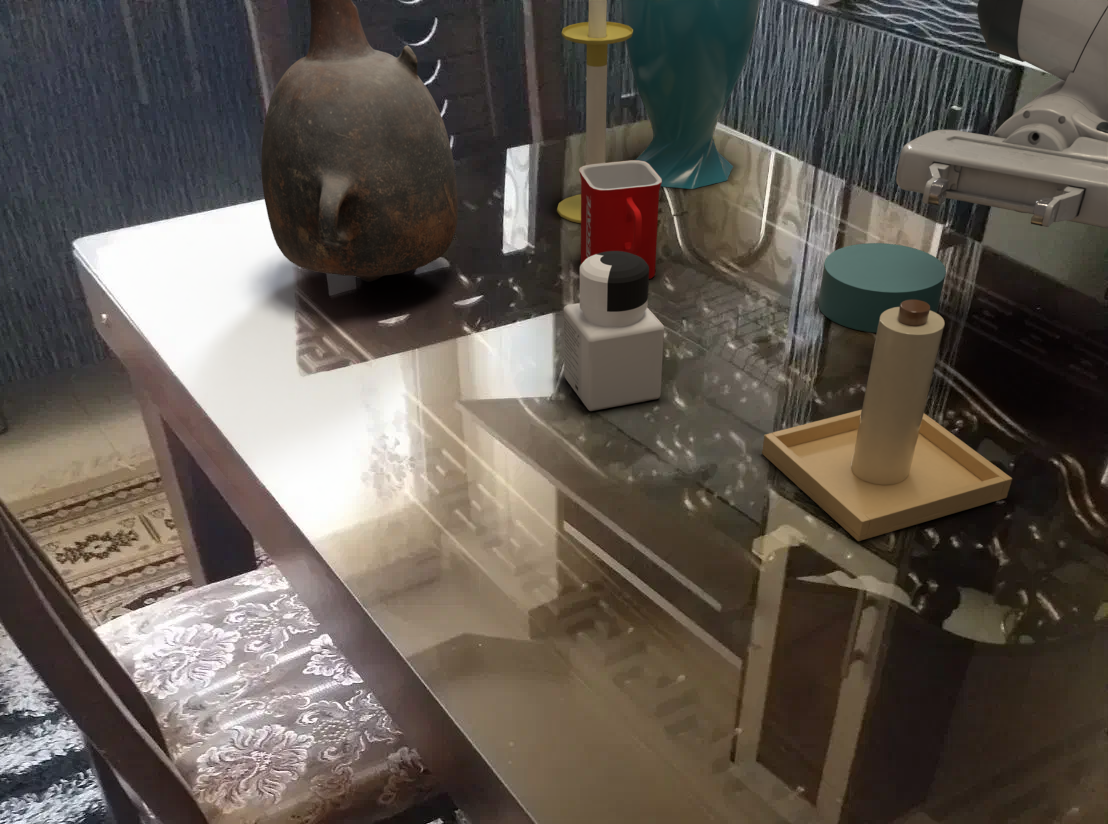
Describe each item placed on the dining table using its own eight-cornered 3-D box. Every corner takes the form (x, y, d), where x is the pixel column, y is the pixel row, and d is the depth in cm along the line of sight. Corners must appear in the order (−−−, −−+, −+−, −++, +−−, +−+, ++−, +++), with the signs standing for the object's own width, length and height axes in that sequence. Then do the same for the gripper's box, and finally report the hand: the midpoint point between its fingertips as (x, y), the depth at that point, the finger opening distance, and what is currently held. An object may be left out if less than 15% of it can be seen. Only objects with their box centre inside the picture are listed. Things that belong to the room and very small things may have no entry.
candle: (648, 207, 150) (664, -154, 124) (600, 230, 145) (607, -141, 118) (589, 189, 155) (592, -162, 128) (541, 212, 150) (534, -150, 123)
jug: (490, 306, 130) (473, -2, 109) (303, 339, 125) (248, 22, 104) (430, 228, 146) (406, -54, 125) (263, 254, 142) (208, -34, 120)
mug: (575, 259, 139) (575, 165, 131) (641, 252, 140) (645, 159, 133) (600, 301, 131) (602, 204, 123) (670, 293, 132) (675, 196, 124)
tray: (900, 417, 111) (904, 398, 110) (1006, 498, 101) (1012, 478, 100) (761, 453, 107) (764, 434, 106) (858, 541, 97) (862, 521, 96)
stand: (890, 274, 134) (898, 235, 131) (961, 318, 126) (971, 278, 123) (795, 295, 131) (801, 255, 128) (861, 342, 122) (869, 301, 119)
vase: (662, 201, 152) (677, -75, 130) (595, 162, 162) (599, -98, 141) (768, 176, 157) (798, -92, 136) (696, 140, 168) (714, -113, 147)
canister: (886, 449, 106) (922, 287, 96) (921, 477, 103) (961, 312, 92) (839, 462, 105) (869, 299, 94) (872, 490, 102) (908, 324, 91)
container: (633, 365, 120) (637, 238, 110) (661, 399, 115) (669, 269, 105) (563, 377, 118) (562, 250, 109) (588, 413, 113) (589, 282, 104)
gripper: (936, 102, 107) (875, 145, 99) (1166, 137, 98) (1119, 187, 90) (922, 174, 111) (863, 220, 104) (1141, 213, 103) (1095, 267, 95)
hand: (985, 205), depth 97 cm, fingers open, 8 cm apart
